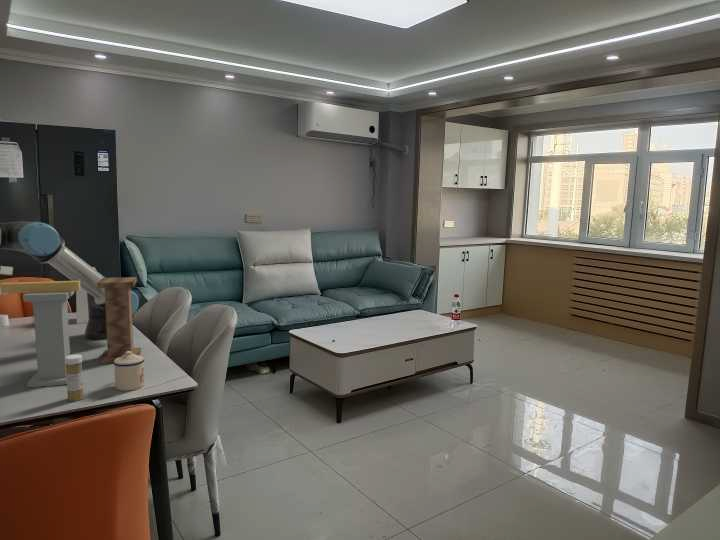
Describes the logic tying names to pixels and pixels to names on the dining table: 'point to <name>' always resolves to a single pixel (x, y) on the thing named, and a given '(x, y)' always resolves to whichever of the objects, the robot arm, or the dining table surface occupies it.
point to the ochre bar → (40, 287)
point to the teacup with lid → (129, 372)
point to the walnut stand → (118, 317)
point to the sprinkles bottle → (74, 377)
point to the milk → (82, 305)
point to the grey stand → (50, 337)
